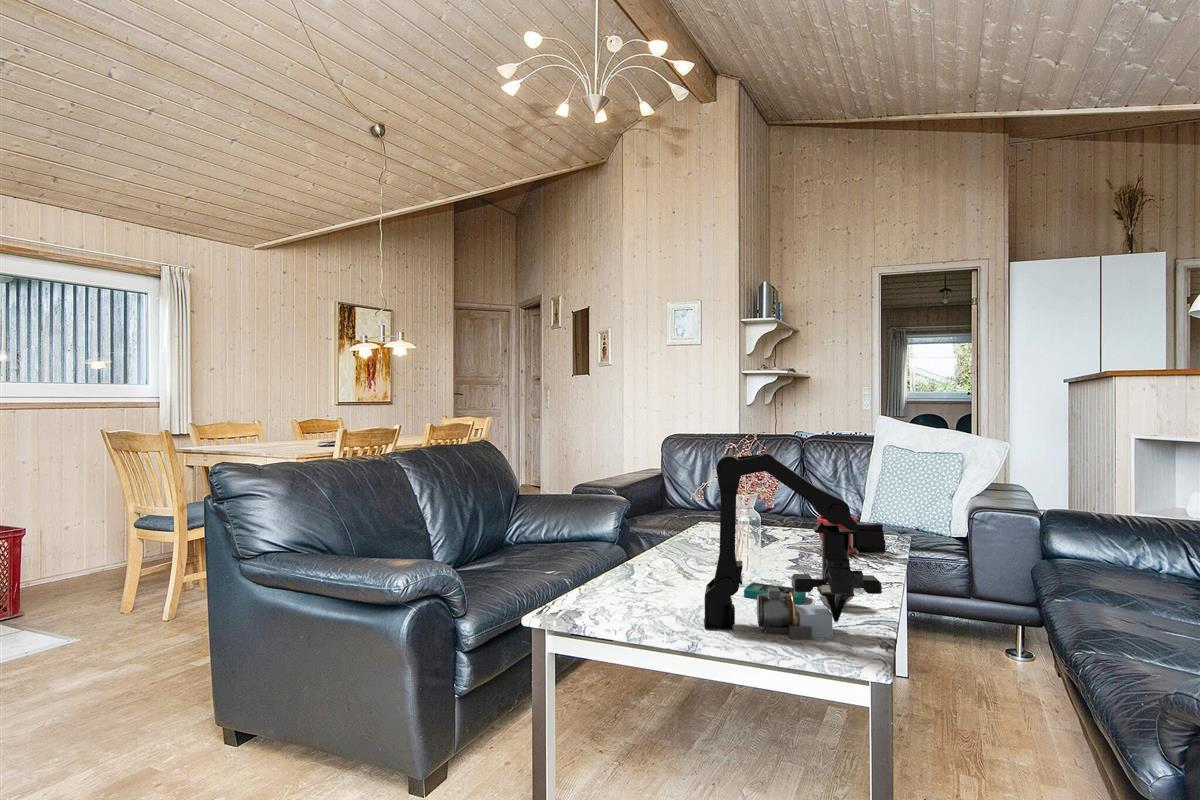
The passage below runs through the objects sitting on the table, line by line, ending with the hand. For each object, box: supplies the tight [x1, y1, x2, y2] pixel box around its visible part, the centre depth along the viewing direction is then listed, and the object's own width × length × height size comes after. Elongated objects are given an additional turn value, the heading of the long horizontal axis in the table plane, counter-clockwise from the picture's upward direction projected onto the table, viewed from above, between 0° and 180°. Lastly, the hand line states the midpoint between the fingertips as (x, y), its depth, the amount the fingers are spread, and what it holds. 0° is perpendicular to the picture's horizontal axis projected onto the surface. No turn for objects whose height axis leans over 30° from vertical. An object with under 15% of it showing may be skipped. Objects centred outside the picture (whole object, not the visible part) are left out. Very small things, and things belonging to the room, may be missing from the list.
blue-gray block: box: [794, 604, 834, 638], centre depth 158 cm, size 8×7×5 cm
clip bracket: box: [788, 625, 813, 641], centre depth 159 cm, size 5×11×2 cm, turn 173°
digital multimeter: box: [743, 582, 807, 605], centre depth 185 cm, size 8×15×3 cm, turn 62°
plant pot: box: [816, 515, 859, 555], centre depth 238 cm, size 13×13×12 cm
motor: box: [756, 587, 795, 636], centre depth 159 cm, size 8×8×9 cm
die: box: [817, 583, 854, 607], centre depth 177 cm, size 8×9×10 cm
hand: (835, 621), depth 158 cm, fingers closed
